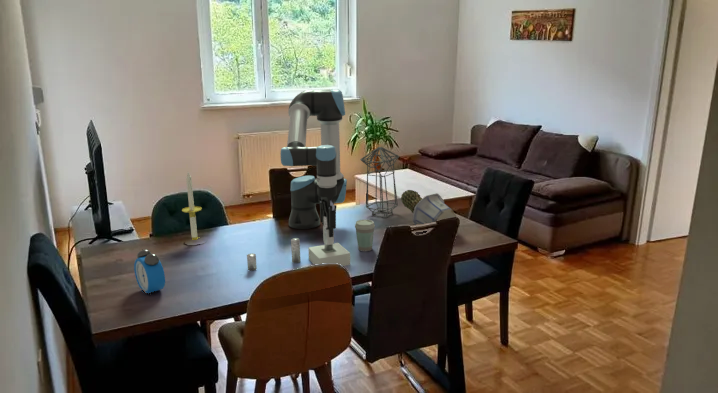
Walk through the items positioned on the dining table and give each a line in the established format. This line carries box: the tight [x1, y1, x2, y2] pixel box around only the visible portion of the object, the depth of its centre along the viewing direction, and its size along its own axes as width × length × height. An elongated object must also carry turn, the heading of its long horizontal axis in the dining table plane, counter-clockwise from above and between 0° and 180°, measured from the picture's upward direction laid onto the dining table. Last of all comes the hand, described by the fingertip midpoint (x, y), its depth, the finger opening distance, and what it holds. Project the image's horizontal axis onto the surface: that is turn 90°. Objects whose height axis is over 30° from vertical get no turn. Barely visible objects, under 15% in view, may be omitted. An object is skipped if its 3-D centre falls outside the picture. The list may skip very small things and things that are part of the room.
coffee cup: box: [354, 219, 376, 252], centre depth 239 cm, size 9×8×12 cm
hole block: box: [308, 242, 351, 267], centre depth 226 cm, size 13×13×5 cm
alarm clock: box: [133, 248, 166, 294], centre depth 201 cm, size 13×6×15 cm, turn 43°
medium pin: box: [290, 237, 301, 264], centre depth 226 cm, size 3×3×10 cm
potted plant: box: [400, 189, 457, 226], centre depth 264 cm, size 18×18×30 cm
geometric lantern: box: [360, 146, 401, 219], centre depth 282 cm, size 16×16×35 cm
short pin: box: [246, 253, 258, 272], centre depth 220 cm, size 3×3×6 cm
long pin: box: [323, 215, 333, 251], centre depth 224 cm, size 3×3×14 cm
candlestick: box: [181, 171, 203, 240], centre depth 247 cm, size 10×10×32 cm
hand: (328, 242), depth 225 cm, fingers closed on long pin, 3 cm apart
